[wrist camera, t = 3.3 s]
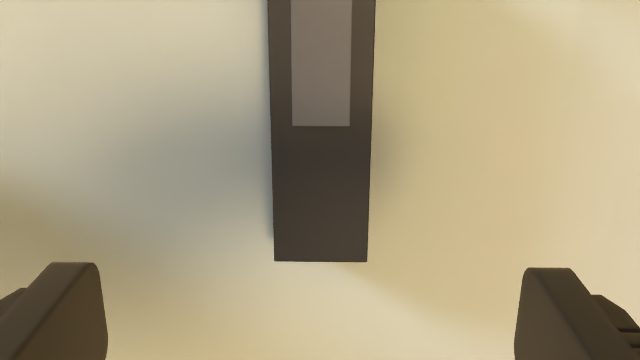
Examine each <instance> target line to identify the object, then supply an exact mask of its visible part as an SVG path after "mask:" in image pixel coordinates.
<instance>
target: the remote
mask: <svg viewBox="0 0 640 360" xmlns="http://www.w3.org/2000/svg"><path fill="white" fill-rule="evenodd" d="M267 3H268V41H269V78H270V116H271V153H272V191H273V228H274V261H295V262H367V250H368V219H369V188H370V157H371V126H372V95H373V65H374V34H375V3H376V0H267Z"/></svg>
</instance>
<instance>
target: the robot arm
mask: <svg viewBox="0 0 640 360" xmlns="http://www.w3.org/2000/svg"><path fill="white" fill-rule="evenodd" d="M107 347H108V333H107V325H106V318H105V311H104V304H103V297H102V289H101V282H100V276H99V271H98V268H97V266H96V265H95V264H94V263H87V262H52V263H50V264H49V265H48V266H47V267H46V268H45V269H44V270H43V271H42V272H41V274H40V275H39V276H38V277H37V278H36V279H35V280H34V281H33V282H32V283H31V285H30V286H29V287H28V288H20V289H18V290H17V291H15V292H13V293H11V294H10V295H8V296H6V297H4V298H3V299H1V300H0V360H105V359H106V354H107ZM514 354H515V360H640V328H639V326H638V325H637V324H636V323H635V322H634V320H633V319H632V318H631V317H630V316H629V314H628V313H627V312H626V311H625V310H624V309H622V308H620V307H619V306H617V305H616V304H614V303H613V302H611V301H610V300H608V299H606V298H605V297H603V296H602V295H591V294H590V293H589V291H588V290H587V289H586V287H585V286H584V285H583V284H582V282H581V281H580V280H579V278H578V277H577V276H576V274H575V273H574V272H573V271H572V270H571V269H570V268H527V269H526V271H525V272H524V275H523V280H522V286H521V294H520V301H519V309H518V316H517V324H516V331H515V340H514Z"/></svg>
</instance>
